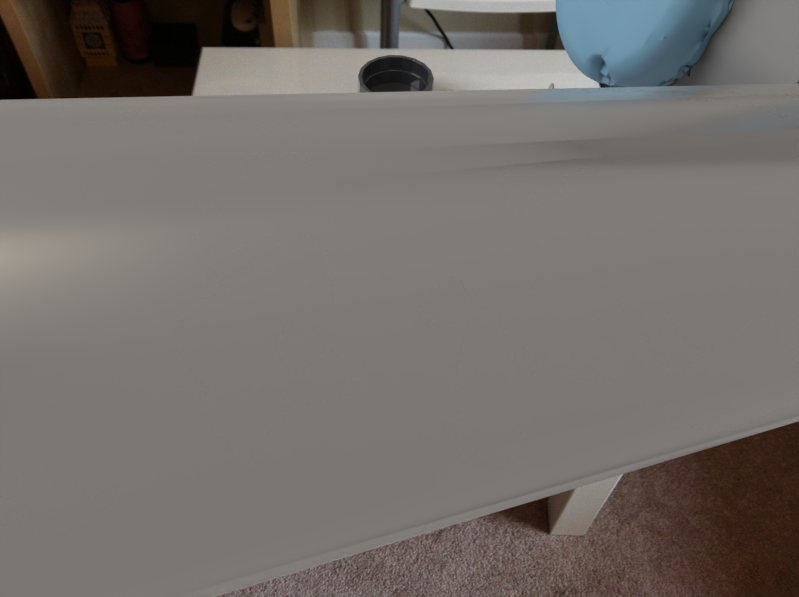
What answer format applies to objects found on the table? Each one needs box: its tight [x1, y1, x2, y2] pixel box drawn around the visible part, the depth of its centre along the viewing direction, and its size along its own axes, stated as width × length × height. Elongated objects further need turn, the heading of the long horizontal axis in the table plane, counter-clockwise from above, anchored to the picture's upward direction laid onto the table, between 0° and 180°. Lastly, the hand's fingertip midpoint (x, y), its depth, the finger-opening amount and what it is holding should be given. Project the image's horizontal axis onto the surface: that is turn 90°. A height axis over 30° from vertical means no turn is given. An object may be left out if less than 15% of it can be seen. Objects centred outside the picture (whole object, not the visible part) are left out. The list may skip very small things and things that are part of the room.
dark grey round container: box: [357, 54, 435, 93], centre depth 100 cm, size 10×10×4 cm
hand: (476, 213), depth 62 cm, fingers closed
